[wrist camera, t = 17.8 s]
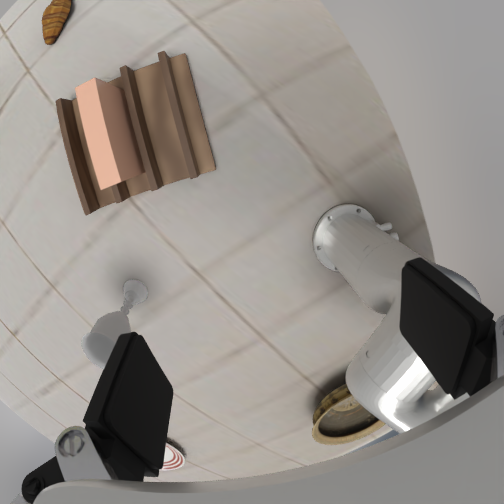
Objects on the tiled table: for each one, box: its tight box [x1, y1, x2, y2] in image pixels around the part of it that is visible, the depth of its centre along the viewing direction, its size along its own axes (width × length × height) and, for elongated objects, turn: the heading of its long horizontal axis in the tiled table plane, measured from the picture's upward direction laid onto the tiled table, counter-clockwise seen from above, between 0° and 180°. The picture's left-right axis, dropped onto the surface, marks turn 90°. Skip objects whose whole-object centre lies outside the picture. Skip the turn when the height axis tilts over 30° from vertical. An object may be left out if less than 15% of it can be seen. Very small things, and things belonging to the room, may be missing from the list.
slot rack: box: [56, 51, 216, 215], centre depth 38 cm, size 24×20×6 cm
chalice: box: [81, 279, 148, 370], centre depth 42 cm, size 7×7×18 cm
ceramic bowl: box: [312, 384, 385, 445], centre depth 61 cm, size 30×24×10 cm
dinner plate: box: [159, 443, 185, 470], centre depth 70 cm, size 28×27×3 cm
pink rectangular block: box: [75, 78, 146, 190], centre depth 33 cm, size 3×14×12 cm, turn 14°
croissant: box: [42, 0, 72, 45], centre depth 27 cm, size 14×7×5 cm, turn 173°
